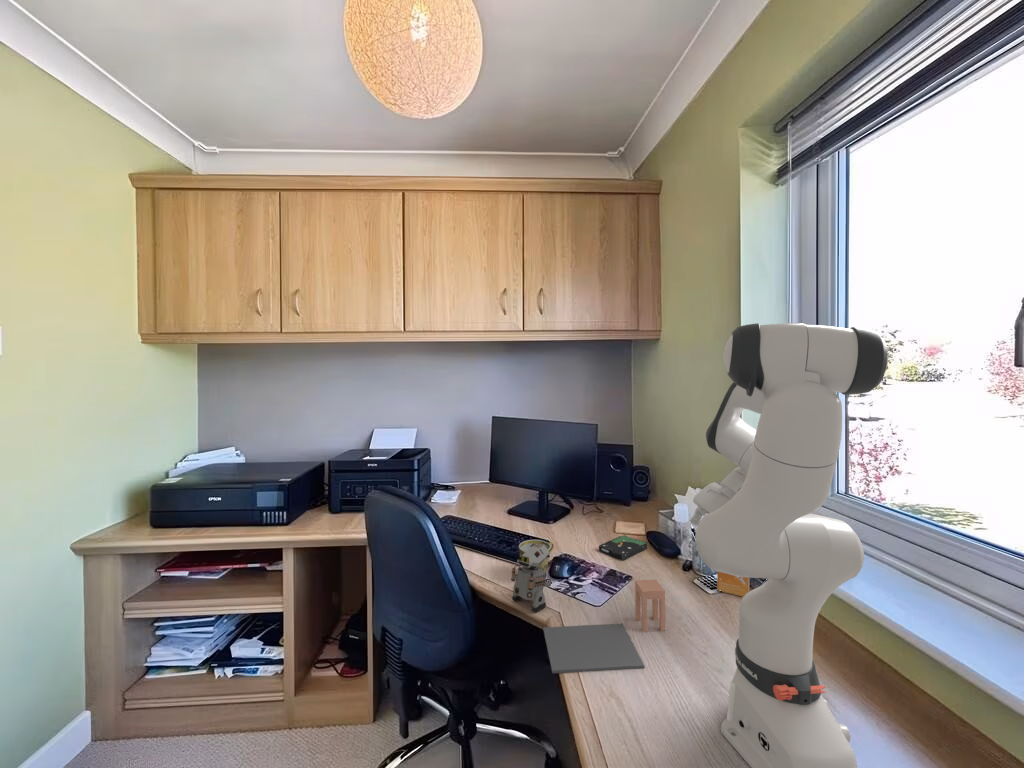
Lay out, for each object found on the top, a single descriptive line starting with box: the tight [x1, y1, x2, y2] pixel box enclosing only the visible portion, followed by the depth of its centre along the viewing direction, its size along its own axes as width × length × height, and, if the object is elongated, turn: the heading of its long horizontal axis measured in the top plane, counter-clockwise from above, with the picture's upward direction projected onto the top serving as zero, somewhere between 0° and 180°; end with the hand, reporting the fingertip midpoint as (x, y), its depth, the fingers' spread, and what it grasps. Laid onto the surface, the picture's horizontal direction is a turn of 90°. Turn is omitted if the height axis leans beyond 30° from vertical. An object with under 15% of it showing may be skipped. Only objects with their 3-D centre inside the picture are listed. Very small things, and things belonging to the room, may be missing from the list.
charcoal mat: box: [542, 623, 645, 674], centre depth 98 cm, size 15×20×1 cm
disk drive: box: [598, 534, 648, 562], centre depth 150 cm, size 10×3×15 cm
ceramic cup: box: [518, 539, 554, 574], centre depth 132 cm, size 13×10×10 cm
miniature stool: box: [634, 579, 666, 633], centre depth 106 cm, size 6×6×10 cm
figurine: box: [510, 543, 552, 614], centre depth 118 cm, size 9×12×15 cm
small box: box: [716, 571, 750, 598], centre depth 122 cm, size 8×6×13 cm
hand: (701, 530), depth 106 cm, fingers open, 8 cm apart
